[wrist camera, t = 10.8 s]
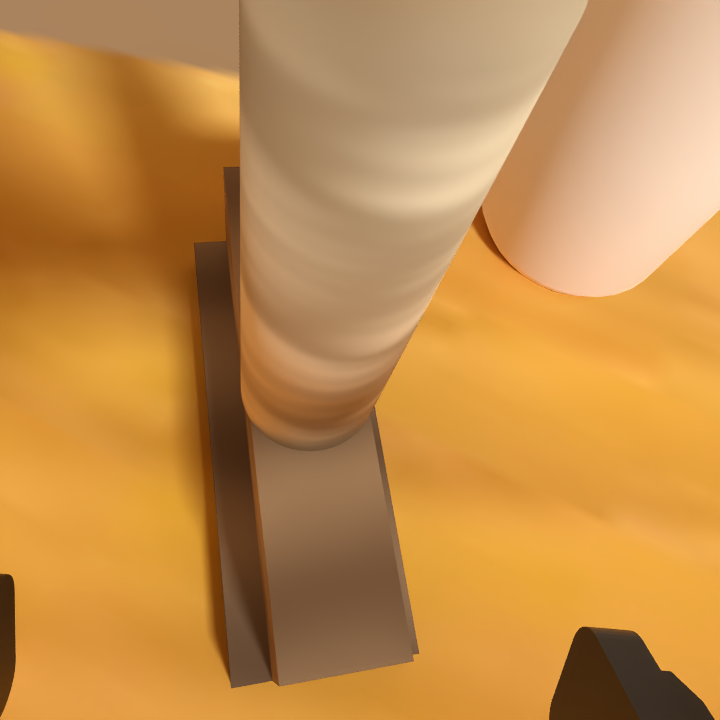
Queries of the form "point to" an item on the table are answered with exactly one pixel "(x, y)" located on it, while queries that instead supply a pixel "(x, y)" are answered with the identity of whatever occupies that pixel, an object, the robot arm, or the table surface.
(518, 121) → the dowel
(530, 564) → the table surface
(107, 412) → the table surface
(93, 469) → the table surface
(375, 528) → the brown block
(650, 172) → the alcohol
